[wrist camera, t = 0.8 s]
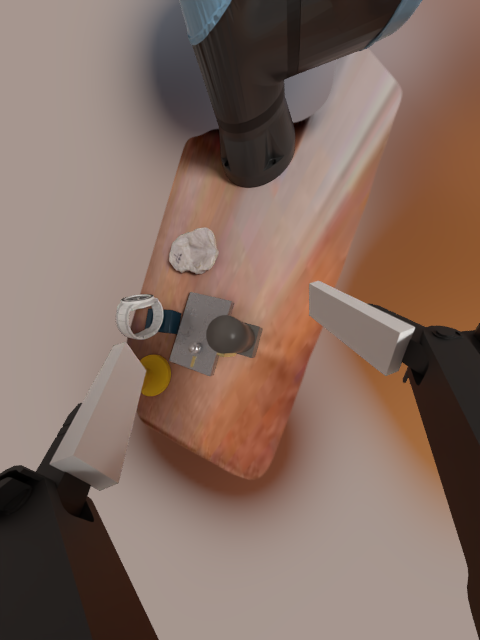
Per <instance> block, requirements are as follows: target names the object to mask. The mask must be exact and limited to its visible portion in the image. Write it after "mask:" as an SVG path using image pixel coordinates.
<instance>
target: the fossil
mask: <svg viewBox="0 0 480 640" xmlns="http://www.w3.org/2000/svg"><path fill="white" fill-rule="evenodd" d="M218 253H219V252H218V249H217V247H216V240H215V236H214V234H213V232H212V231H211V230H209V229H208V228H198V229H196V230H194V231H192V232H188V233H185V234H182V235H180V236H179V237H178V238H177V239H176V240H175V241H174V242H173V243H172V247H171V251H170V254H169V262H170V263H171V264H172V266H173V267H174V269H175V270H177V271H180V272H181V273H183V272H185V271H191V272H193V273H195V274H202V273H205V271H206V270H209V269H211V268H212V267H213V266H214V264H215V261H216V258H217V257H218Z"/></svg>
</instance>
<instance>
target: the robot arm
mask: <svg viewBox="0 0 480 640" xmlns="http://www.w3.org/2000/svg"><path fill="white" fill-rule="evenodd" d="M421 1H422V0H179V2H180V6H181V9H182V13H183V16H184V19H185V23H186V27H187V33H188V38H189V41H190V43H191V44H192V46H193V49H194V52H195V55H196V58H197V61H198V64H199V67H200V70H201V73H202V76H203V79H204V82H205V86H206V88H207V92H208V95H209V98H210V101H211V104H212V107H213V110H214V113H215V115H216V118H217V122H218V125H219V136H220V151H221V161H222V165H223V167H224V170H225V173H226V175H227V177H228V178H229V179H230V180H231V181H232V182H233V183H235V184H236V185H239V186H243V187H255V186H260V185H263V184H265V183H268V182H270V181H272V180H273V179H275V178H276V177H278V176H279V175H280V174H281V173H282V172H283V171H284V170H285V169H286V168H287V166H288V165H289V163H290V162H291V160H292V158H293V155H294V151H295V129H294V125H293V122H292V118H291V115H290V112H289V109H288V105H287V102H286V99H285V93H284V79H287V78H289V77H291V76H294V75H296V74H299V73H302V72H304V71H307V70H309V69H312V68H315V67H317V66H320V65H322V64H325V63H328V62H331V61H333V60H336V59H338V58H341V57H344V56H346V55H349V54H352V53H354V52H357V51H362V50H363V49H367V48H369V47H370V46H372V45H373V44H374V43H375V42H377V41H379V40H381V39H383V38H385V37H387V36H389V35H391V34H393V33H394V32H395V31H397V30H398V29H399V28H400V27H401V26H402V25H403V24H404V23H405V22H406V21H407V20H408V19H409V18H410V17H411V15H412V14H413V13H414V11H415V10H416V8H417V7H418V6H419V4H420V2H421ZM309 316H311V317H312V318H313V319H315V320H316V321H317V322H318V323H320V324H321V325H322V326H323V327H325V328H326V329H327V330H328V331H330V332H331V333H332V334H333V335H335V336H336V337H337V338H339V339H340V340H341V341H342V342H343V343H345V344H346V345H347V346H348V347H350V348H351V349H352V350H354V351H355V352H356V353H357V354H359V355H360V356H361V357H362V358H364V359H365V360H366V361H367V362H369V363H370V364H371V365H372V366H374V367H375V368H376V369H377V370H379V371H380V372H381V373H382V374H384V375H385V376H387V375H389V374H392V373H394V372H397V371H399V368H400V366H401V363H402V362H403V363H404V364H406V365H407V366H408V368H407V371H406V373H405V375H404V378H403V382H404V383H405V382H406V381H407V378H409V380H410V384H411V386H412V390H413V393H414V396H415V399H416V402H417V406H418V409H419V412H420V415H421V418H422V421H423V425H424V428H425V431H426V434H427V438H428V441H429V444H430V447H431V450H432V453H433V456H434V460H435V463H436V466H437V469H438V473H439V476H440V479H441V482H442V485H443V489H444V492H445V495H446V498H447V501H448V505H449V508H450V511H451V514H452V518H453V521H454V524H455V527H456V530H457V534H458V537H459V540H460V543H461V546H462V549H463V553H464V556H465V559H466V563H467V567H468V585H467V591H468V600H469V604H470V609H471V613H472V616H473V620H474V623H475V627H476V630H477V634H478V637H479V640H480V323H479V325H478V326H477V328H476V330H473V331H462V332H460V331H458V330H456V329H453V328H449V327H445V326H429V327H424V326H422V325H420V324H417V323H415V322H413V321H411V320H409V319H407V318H405V317H402V316H400V315H398V314H397V315H396V313H394V312H391V311H388V310H387V309H385V308H383V307H381V306H378V305H373V304H366V303H364V302H362V301H360V300H358V299H356V298H353V297H352V296H349V295H347V294H345V293H343V292H341V291H339V290H337V289H335V288H333V287H331V286H329V285H327V284H325V283H322V282H320V281H316V282H313V283H310V284H309ZM145 373H146V370H145V368H144V367H143V365H142V364H141V362H140V361H139V360H138V358H137V357H136V355H135V354H134V353H133V351H132V350H131V348H130V347H129V345H128V344H127V343H126V342H123V343H120V344H117V345H114V346H113V348H112V349H111V352H110V353H109V355H108V357H107V359H106V360H105V363H104V364H103V366H102V368H101V370H100V372H99V374H98V375H97V377H96V379H95V381H94V383H93V384H92V386H91V388H90V390H89V392H88V394H87V395H86V397H85V399H84V401H83V403H80V404H78V406H76V408H75V409H74V410H73V411H72V412H71V413H70V414H69V416H68V417H67V419H66V421H65V423H64V424H63V428H61V429H60V431H59V433H58V435H57V437H56V438H55V440H54V442H53V443H52V445H51V447H50V448H49V450H48V452H47V454H46V455H45V457H44V459H43V461H42V462H41V464H40V466H39V467H38V469H37V471H36V472H34V471H32V470H30V469H28V468H26V467H24V466H22V465H19V466H13V467H11V468H9V469H7V470H5V471H3V472H2V473H0V640H159V639H158V638H157V635H156V633H155V631H154V629H153V627H152V625H151V623H150V621H149V618H148V616H147V614H146V612H145V610H144V608H143V606H142V604H141V602H140V600H139V597H138V596H137V594H136V591H135V589H134V587H133V585H132V583H131V581H130V579H129V577H128V574H127V572H126V570H125V568H124V566H123V564H122V562H121V560H120V558H119V556H118V554H117V552H116V549H115V547H114V545H113V543H112V541H111V539H110V537H109V535H108V533H107V530H106V529H105V526H104V525H103V522H102V520H101V518H100V516H99V514H98V512H97V510H96V507H95V505H94V503H93V501H92V500H91V499H90V498H89V497H87V495H88V492H89V489H90V486H92V487H94V488H95V489H97V490H99V491H100V490H103V489H105V488H108V487H110V486H113V485H115V484H118V483H119V479H120V475H121V471H122V467H123V463H124V459H125V455H126V451H127V447H128V442H129V439H130V434H131V431H132V426H133V422H134V418H135V414H136V410H137V406H138V402H139V398H140V394H141V390H142V386H143V382H144V377H145Z"/></svg>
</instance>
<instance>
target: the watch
mask: <svg viewBox="0 0 480 640" xmlns="http://www.w3.org/2000/svg"><path fill="white" fill-rule="evenodd" d="M149 306H151V307H152V309H148V314H147V320H146V325H145V330H143V331H141V332H139V333H136V334H133V333H132V331H131V329H130V326H129V320H128V319H129V313H130V311H131V310H132V311H134V310H136V309H141V308H146V307H149ZM180 320H181V313H179V312H176V311H173V310H163V308H162V306H161V303H160V302H159V300H158V298H154V296H153V295H149V294H143V295H135V296H129V297H125V298H123V299H121V303H120V304H119V305H118V307H117V313H116V324H117V327H118V329H119V331H120V332H121V333H122V334H123V335H124V336H126V337H128V338H133V339H138V340H144V339H147V338H149V337H151V336H153V335H155V334H156V333H157V332H164V333H172V334H178V330H179V326H180Z"/></svg>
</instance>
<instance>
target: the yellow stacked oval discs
mask: <svg viewBox="0 0 480 640" xmlns="http://www.w3.org/2000/svg"><path fill="white" fill-rule="evenodd" d="M140 362H141V364H142V365H143V367H144V368H145V370H146V373H145V377H144V382H143V386H142V390H141V393H142V394H144V395H146V396H155V395H158V394H160V393H162V392H163V391H164V390H165V389H166V388H167V386H168V384H169V382H170V378H171V370H170V366H169V364H168V362H167V360H166V359H165V358H164V357H162V356H160V355H148V356H145V357H144V358H142V359H141V360H140Z"/></svg>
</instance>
